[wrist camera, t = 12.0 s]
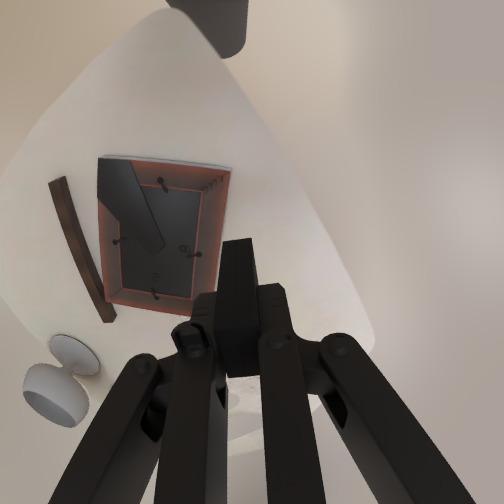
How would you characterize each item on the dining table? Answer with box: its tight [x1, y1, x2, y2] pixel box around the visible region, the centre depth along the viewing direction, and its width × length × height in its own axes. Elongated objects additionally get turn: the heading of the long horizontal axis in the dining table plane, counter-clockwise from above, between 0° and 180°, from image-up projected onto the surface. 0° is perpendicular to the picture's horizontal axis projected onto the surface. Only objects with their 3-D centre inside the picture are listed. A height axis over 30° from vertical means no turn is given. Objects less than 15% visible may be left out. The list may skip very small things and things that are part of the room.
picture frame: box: [97, 155, 231, 317], centre depth 37 cm, size 16×2×22 cm
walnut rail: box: [48, 176, 117, 323], centre depth 37 cm, size 24×2×2 cm, turn 8°
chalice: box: [23, 335, 99, 428], centre depth 42 cm, size 14×14×15 cm
